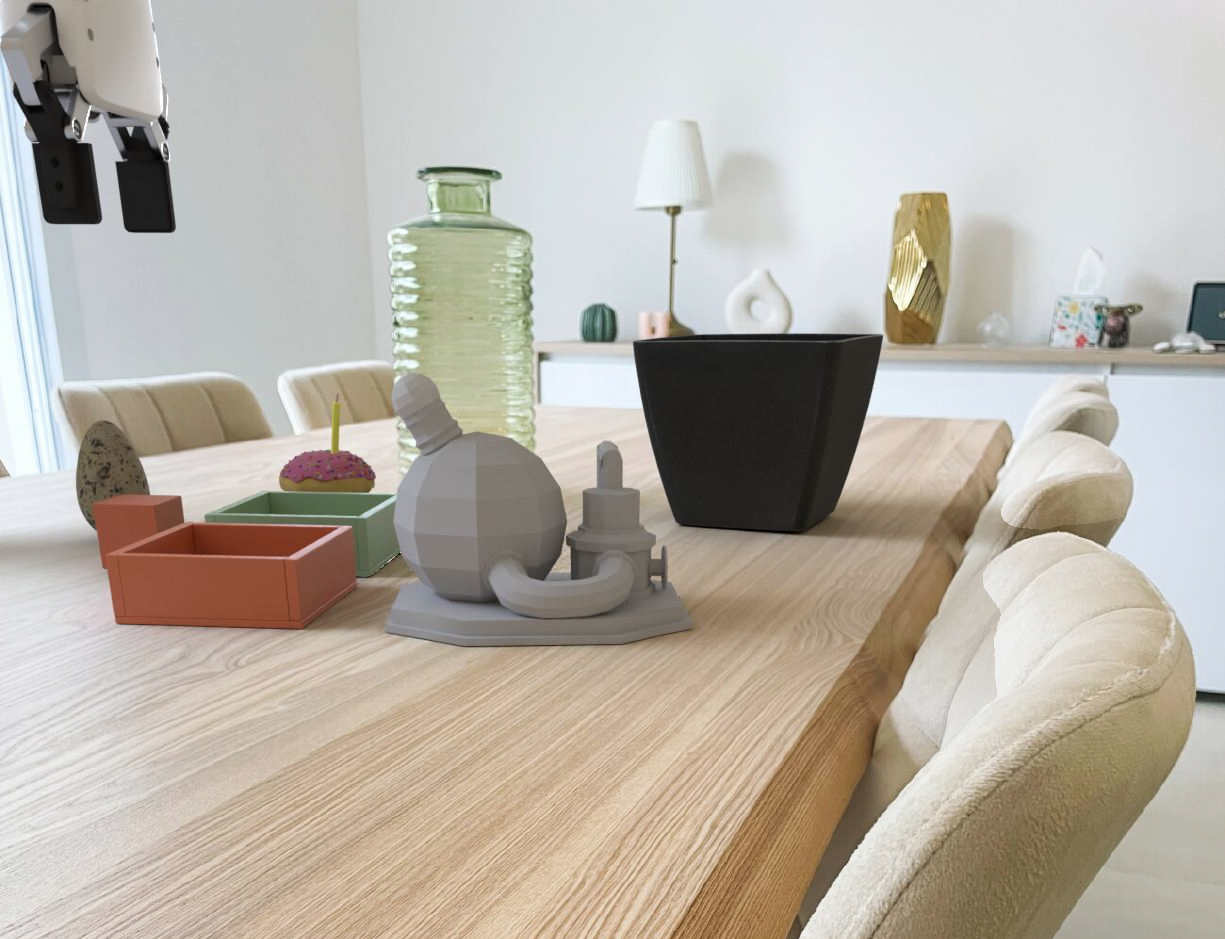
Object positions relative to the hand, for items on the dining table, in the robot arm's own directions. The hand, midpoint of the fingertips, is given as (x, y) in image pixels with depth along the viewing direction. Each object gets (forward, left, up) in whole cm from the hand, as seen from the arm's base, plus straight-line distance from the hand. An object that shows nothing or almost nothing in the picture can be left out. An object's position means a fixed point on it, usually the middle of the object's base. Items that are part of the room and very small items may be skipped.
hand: (114, 228), depth 73 cm
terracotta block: (-9, +17, -24) cm, 30 cm away
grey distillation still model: (+25, +3, -24) cm, 34 cm away
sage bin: (+4, +20, -24) cm, 31 cm away
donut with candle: (+1, +34, -24) cm, 41 cm away
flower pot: (+40, +44, -24) cm, 64 cm away
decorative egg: (-16, +27, -24) cm, 39 cm away
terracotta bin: (+4, +4, -24) cm, 24 cm away
